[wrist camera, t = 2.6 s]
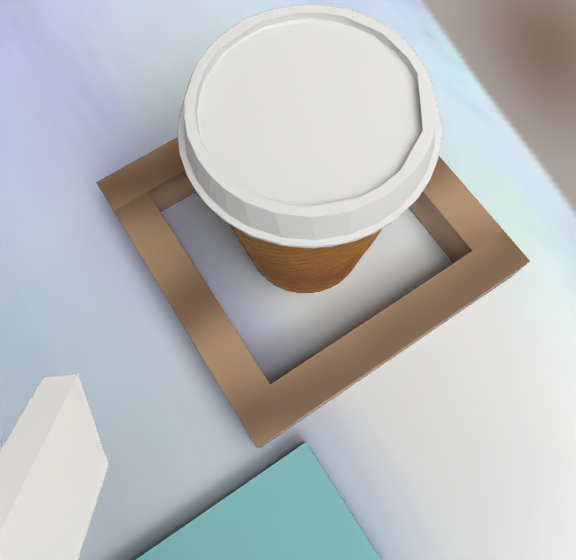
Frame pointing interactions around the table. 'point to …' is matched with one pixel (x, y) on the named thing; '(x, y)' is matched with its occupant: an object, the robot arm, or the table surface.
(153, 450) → the table surface
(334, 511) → the mat
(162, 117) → the table surface
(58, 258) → the table surface
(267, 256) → the disposable coffee cup
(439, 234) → the pocket frame
